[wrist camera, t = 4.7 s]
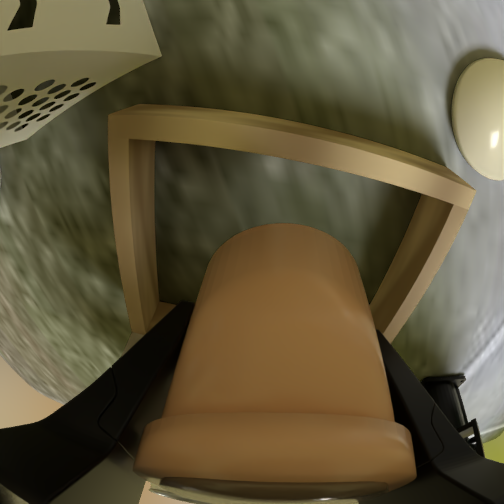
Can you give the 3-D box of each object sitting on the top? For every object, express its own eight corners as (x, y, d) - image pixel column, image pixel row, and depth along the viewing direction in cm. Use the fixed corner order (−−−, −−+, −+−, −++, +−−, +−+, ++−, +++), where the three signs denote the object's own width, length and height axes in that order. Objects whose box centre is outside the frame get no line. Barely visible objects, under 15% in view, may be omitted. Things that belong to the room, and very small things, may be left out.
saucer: (541, 94, 8) (547, 96, 8) (513, 190, 12) (518, 194, 12) (464, 35, 8) (470, 34, 8) (436, 153, 12) (441, 157, 12)
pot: (395, 235, 9) (480, 455, 3) (334, 352, 12) (343, 509, 6) (201, 198, 9) (89, 442, 3) (195, 331, 12) (153, 492, 6)
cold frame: (447, 167, 12) (594, 332, 3) (360, 342, 21) (379, 490, 11) (139, 103, 12) (-76, 223, 3) (147, 308, 20) (90, 454, 11)
